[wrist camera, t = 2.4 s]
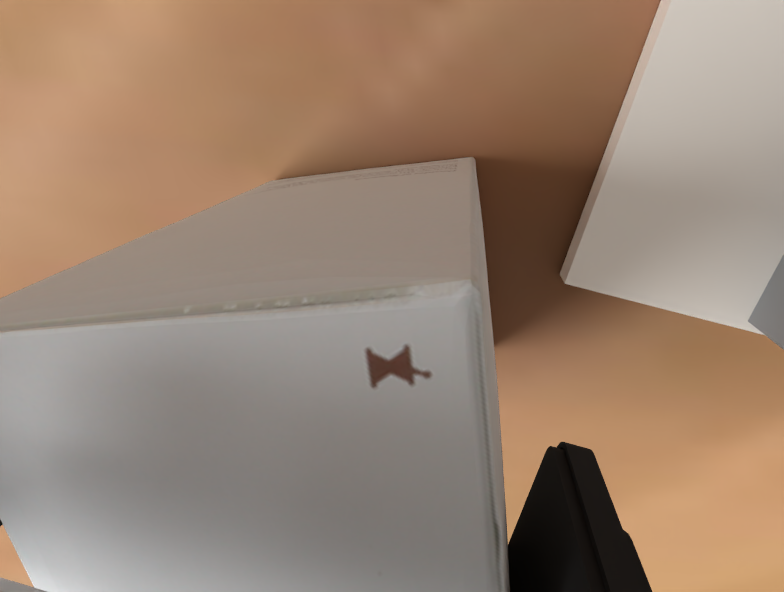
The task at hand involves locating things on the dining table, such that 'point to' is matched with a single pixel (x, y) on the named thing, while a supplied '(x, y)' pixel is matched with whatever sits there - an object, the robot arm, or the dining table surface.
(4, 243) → the dining table surface
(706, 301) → the caddy
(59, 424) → the supplement box
